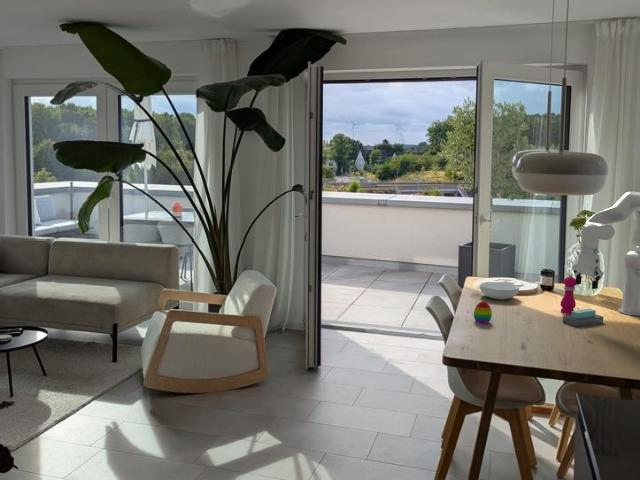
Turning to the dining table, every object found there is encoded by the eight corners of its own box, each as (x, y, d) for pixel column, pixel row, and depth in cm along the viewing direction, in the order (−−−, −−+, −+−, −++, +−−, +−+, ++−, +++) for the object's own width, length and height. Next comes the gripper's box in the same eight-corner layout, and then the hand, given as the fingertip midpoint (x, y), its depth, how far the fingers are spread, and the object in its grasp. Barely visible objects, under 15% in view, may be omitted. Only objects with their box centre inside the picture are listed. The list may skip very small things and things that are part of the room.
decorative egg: (491, 320, 313) (492, 300, 311) (491, 325, 305) (492, 304, 304) (473, 319, 315) (475, 298, 314) (473, 323, 307) (474, 302, 306)
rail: (589, 318, 321) (589, 312, 320) (602, 322, 314) (603, 316, 313) (562, 322, 313) (563, 316, 312) (575, 326, 306) (576, 320, 305)
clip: (588, 319, 318) (589, 308, 317) (594, 321, 314) (595, 310, 314) (570, 322, 312) (571, 311, 311) (576, 324, 309) (577, 312, 308)
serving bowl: (525, 298, 360) (526, 286, 359) (506, 304, 345) (507, 291, 344) (491, 291, 374) (491, 279, 373) (471, 297, 359) (472, 285, 358)
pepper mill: (576, 315, 326) (579, 275, 323) (560, 314, 328) (564, 274, 325) (573, 311, 333) (577, 273, 330) (558, 310, 335) (561, 272, 332)
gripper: (610, 253, 302) (607, 289, 305) (580, 247, 317) (577, 282, 320) (598, 254, 299) (595, 291, 301) (568, 248, 314) (566, 283, 317)
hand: (586, 286), depth 311 cm, fingers open, 9 cm apart
